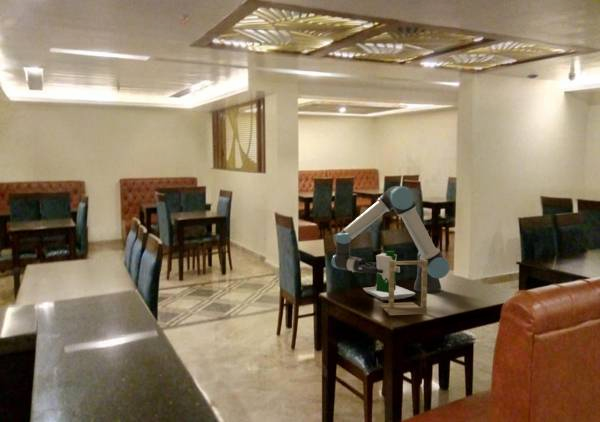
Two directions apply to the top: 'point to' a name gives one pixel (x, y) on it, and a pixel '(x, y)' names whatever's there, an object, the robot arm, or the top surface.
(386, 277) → the fresh milk carton
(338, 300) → the top surface
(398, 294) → the salad plate
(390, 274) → the wooden frame stand
